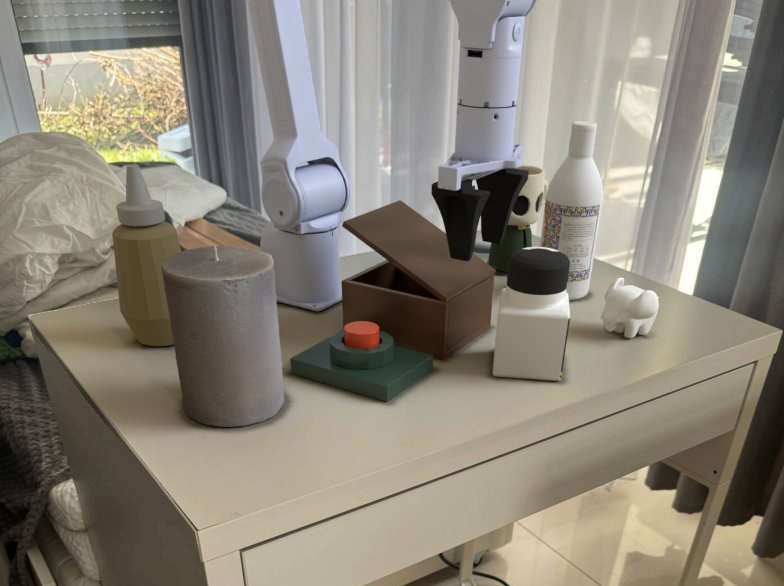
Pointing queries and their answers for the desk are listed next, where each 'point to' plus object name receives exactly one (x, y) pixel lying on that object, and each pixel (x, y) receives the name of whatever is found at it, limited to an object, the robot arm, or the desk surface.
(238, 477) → the desk surface
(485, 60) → the robot arm
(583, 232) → the bath foam
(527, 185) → the character mug
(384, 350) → the button block
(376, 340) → the button
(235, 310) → the pillar candle
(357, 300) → the box
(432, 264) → the lid
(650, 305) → the elephant figurine
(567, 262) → the medicine bottle
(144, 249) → the squeeze bottle
